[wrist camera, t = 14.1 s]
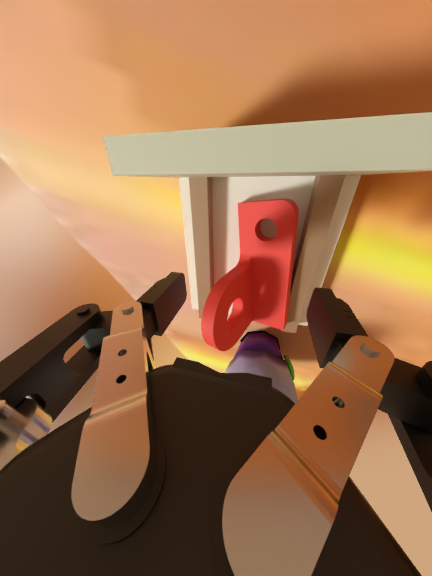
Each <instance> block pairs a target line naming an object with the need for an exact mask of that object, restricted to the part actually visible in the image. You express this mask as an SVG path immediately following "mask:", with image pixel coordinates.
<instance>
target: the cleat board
mask: <svg viewBox="0 0 432 576" xmlns="http://www.w3.org/2000/svg"><path fill="white" fill-rule="evenodd" d="M103 140H104V143H105V147H106V151H107V155H108V159H109V162H110V166H111V170H112V174H113V176H143V177H173V178H179V183H180V193H181V203H182V213H183V223H184V233H185V243H186V253H187V263H188V273H189V284H190V294H191V304H192V309H196V310H199V318H202V314H203V309H204V305H205V302H206V300H207V297H208V295H209V293H210V291H211V289H212V288H213V286H214V285H215V283H216V282H217V281H218V280H219V279H220V278H221V277H223V276H224V275H225V274H227V273H228V272H229V271H230V270H232V269H233V268H234V267H235V266H236V265H237V264H238V261H239V258H240V241H239V221H238V203H240V202H244V201H256V200H270V199H284V198H287V199H291V200H293V201H294V202H295V203H296V204H297V206H298V209H299V216H298V225H297V235H296V244H295V253H294V262H293V271H292V280H291V289H290V298H289V307H288V317H287V324H286V326H285V328H284V330H281V331H284V332H290V333H296V331H297V327H298V325H304V326H308V322H307V317H306V314H307V308H308V305H309V302H310V299H311V296H312V293H313V290H314V288H315V287H318V288H321V287H322V285H323V282H324V279H325V276H326V273H327V271H328V268H329V265H330V262H331V259H332V257H333V254H334V251H335V248H336V245H337V242H338V240H339V237H340V234H341V231H342V228H343V226H344V223H345V220H346V217H347V214H348V211H349V209H350V206H351V203H352V200H353V197H354V195H355V192H356V189H357V186H358V183H359V180H360V178H361V175H371V174H389V173H406V172H423V171H432V112H426V113H412V114H399V115H385V116H372V117H358V118H344V119H331V120H317V121H304V122H290V123H277V124H263V125H250V126H236V127H222V128H209V129H195V130H182V131H168V132H155V133H141V134H127V135H114V136H103ZM260 229H261V232H262V234H263V235H264V236H266V237H268V238H273V237H275V235H276V232H277V227H276V224H275V223H274V222H273V221H272V220H271V219H268V218H264V219H263V220H262V222H261V225H260ZM232 308H233V303H232V305H231V307H230V309H229V312H228V314H230V315H231V312H232Z"/></svg>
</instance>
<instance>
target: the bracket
mask: <svg viewBox="0 0 432 576" xmlns="http://www.w3.org/2000/svg"><path fill="white" fill-rule="evenodd" d="M298 216H299V209H298V206H297V204H296V203H295V202H294V201H293V200H291V199H287V198H284V199H270V200H256V201H244V202H240V203H238V221H239V241H240V258H239V261H238V264H237V265H236V266H235V267H234V268H233V269H232V270H230V271H229V272H228V273H227V274H225V275H224V276H223V277H221V278H220V279H219V280H218V281H217V282H216V283H215V285H214V286H213V288H212V289H211V291H210V293H209V295H208V297H207V300H206V302H205V305H204V309H203V314H202V322H201V329H202V335H203V338H204V340H205V342H206V343H207V344H208V345H210V346H212V347H214V348H216V349H218V350H220V351H227V350H229V349H230V348H232V347H233V346H234V345H235V344H236V342H237V341H238V340H239V338H240V337H241V336H242V334H243V333H244V331H245V330H246V329H247V327H248V326H249V324H250V323H251V322H252V321H255V322H259V323H262V324H265V325H268V326H271V327H274V328H277V329H280V330H284V328H285V326H286V324H287V317H288V307H289V298H290V289H291V280H292V271H293V262H294V253H295V244H296V235H297V225H298ZM264 218H268V219H271V220H272V221H273V222H274V223H275V224H276V227H277V232H276V235H275V237H273V238H268V237H266V236H264V235H263V234H262V232H261V229H260V225H261V222H262V220H263V219H264ZM232 303H233V308H232V312H231V315H230V317H229V319H228V321H227V316H228V312H229V309H230V307H231V305H232Z"/></svg>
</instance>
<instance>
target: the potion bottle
mask: <svg viewBox="0 0 432 576" xmlns="http://www.w3.org/2000/svg"><path fill="white" fill-rule="evenodd" d="M240 341H241V344H240V346H239V348H238V350H237V352H236V354H235V357H234V359H233V360H232V361H231V362H230V363H229V366H228V368H227V370H226V372H225V373H251V374H255V375H260V376H264V377H269V378H272V387H274V388H276V389H277V390H279V391H281V392H282V393H283V394H285V395H286V396H287V397H289V398H290V399H291V400H292V401H293V402H294V403H295V404H296V402H297V401H298V398H297V394H296V390H295V385H294V382H293V380H294V377H295V376H294V370H293V367H292V364H291V362H290V359H289V358H288V357H287V356H284V358H285V360H283V358H282V355H281V352H280V350H279V349H280V347H279V343H278V339H277V338H276V337H275V336H273V335H271V334H269V333H267V332H265V331H253V332H247V334H246V335H245V336H244V337H243V338H242V339H241V340H240Z"/></svg>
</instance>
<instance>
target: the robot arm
mask: <svg viewBox="0 0 432 576" xmlns="http://www.w3.org/2000/svg"><path fill="white" fill-rule="evenodd" d="M186 296H187V292H186V284H185V277H184V274H183V273H177V272H171V273H170V274H169V275H168V276H167V277H166V278H163V279H161V280H159V281H157V282H156V283H155V284H154V285H153V287H151V288H150V289H149V290H148V291H147V292H145V293H144V294H143V295H142V296H141V297H140V298H139V299H138V300H137V301H129V302H125V303H122V304H120V305H118V307H116V308H115V309H114V310H113V311H103V312H101V310H100V308H99V306H98V305H96V304H86V305H82V306H79V307H77V308H75V309H74V310H72V311H71V312H70V313H68V314H66V315H65V316H64V317H62V318H61V319H59V320H58V321H57V322H55V323H54V324H53V325H51V326H50V327H48V328H47V329H46V330H44V331H43V332H42V333H40V334H39V335H37V336H36V337H35V338H33V339H32V340H30V341H29V342H27V343H26V344H25V345H23V346H22V347H20V348H19V349H18V350H16V351H15V352H14V353H12V354H11V355H9V356H8V357H7V358H5V359H4V360H2V361H1V362H0V576H421V574H420V573H419V571H418V570H417V569H416V567H415V566H414V565H413V563H412V562H411V560H410V559H409V558H408V556H407V555H406V554H405V552H404V551H403V550H402V548H401V547H400V545H399V544H398V543H397V541H396V540H395V539H394V537H393V536H392V534H391V533H390V532H389V530H388V529H387V528H386V526H385V525H384V523H383V522H382V521H381V520H380V518H379V517H378V515H377V514H376V512H375V511H374V510H373V508H372V507H371V506H370V504H369V503H368V501H367V500H366V499H365V497H364V496H363V495H362V493H361V492H360V490H359V489H358V488H357V486H356V485H355V484H354V483H353V481H352V479H351V478H350V477H349V474H350V472H351V470H352V467H353V465H354V463H355V460H356V458H357V456H358V453H359V451H360V449H361V446H362V444H363V442H364V439H365V437H366V435H367V433H368V430H369V428H370V425H371V423H372V421H373V419H374V416H375V414H376V412H377V409H379V410H381V411H383V412H385V413H388V415H389V418H390V420H391V422H392V424H393V426H394V429H395V431H396V433H397V435H398V437H399V440H400V442H401V444H402V446H403V448H404V451H405V453H406V455H407V458H408V460H409V462H410V464H411V466H412V469H413V471H414V473H415V475H416V478H417V480H418V482H419V484H420V486H421V489H422V491H423V493H424V495H425V498H426V500H427V502H428V504H429V507H430V509H431V511H432V361H429V362H427V363H426V364H425V365H424V366H423V367H422V368H421V367H418V366H415V365H413V364H410V363H407V362H404V361H401V360H399V359H396V358H394V355H393V353H392V352H391V351H390V349H389V348H387V347H386V346H385V345H384V344H382V343H381V342H379V341H377V340H375V339H373V338H370V337H368V335H367V334H366V332H365V330H364V329H363V327H362V326H361V324H360V322H359V321H358V319H356V316H355V315H354V313H352V312H353V311H352V310H351V308H350V307H349V305H348V304H347V303H345V302H344V301H343V300H341V299H338V298H336V297H335V295H334V293H333V291H332V290H331V289H327V288H318V287H315V288H314V290H313V293H312V296H311V299H310V302H309V305H308V308H307V314H306V317H307V322H308V326H309V330H310V333H311V337H312V341H313V344H314V348H315V352H316V355H317V359H318V363H319V366H320V368H324V369H323V370H322V371H321V372H320V374H319V375H318V376H317V377H316V379H315V380H314V381H313V382H312V384H311V385H310V386H309V387H308V389H307V390H306V391H305V392H304V394H303V395H302V396H301V398H300V399H299V400H298V401H297V402H296V404H295V403H294V402H293V401H292V400H291V399H290V398H289V397H287V396H286V395H285V394H283V393H282V392H281V391H279V390H277V389H276V388H274V387H272V378H269V377H264V376H260V375H255V374H251V373H219V372H217V371H215V370H213V369H211V368H209V367H207V366H205V365H203V364H201V363H199V362H196V361H191V360H186V359H182V358H176V360H175V362H174V364H173V365H165V366H161V367H158V368H156V364H155V357H154V350H153V343H152V339H151V338H152V336H153V335H158V336H162V334H163V333H164V332H165V330H166V329H167V327H168V326H169V324H170V323H171V321H172V320H173V318H174V317H175V315H176V314H177V312H178V311H179V310H180V308H181V307H182V305H183V304H184V302H185V300H186ZM79 339H81V340H82V342H83V344H84V346H83V347H82V348H81V349H80V350H79V351H78V352H77V353H76V354H75V355H74V356H73V357H72V358H71V359H70V360H69V361H68V362H67V363H66V364H65V362H64V360H63V357H64V354H65V352H66V351H67V350H68V349H69V348H70V347H71V346H72V345H73V344H74V343H75V342H76V341H77V340H79ZM97 368H98V374H97V379H96V386H95V392H94V398H93V404H92V407H91V408H89V409H88V410H86V411H84V412H83V413H81V414H79V415H78V416H76V417H75V418H73V419H71V420H70V421H68V422H66V423H65V424H63V425H62V426H60V427H58V428H57V429H55V430H53V431H52V432H50V433H49V434H47V433H48V432H49V430H50V428H51V425H52V422H53V421H54V420H55V419H56V418H57V416H58V415H59V414H60V413H61V412H62V410H63V409H64V408H65V407H66V405H67V404H68V403H69V402H70V401H71V400H72V398H73V397H74V396H75V395H76V394H77V392H78V391H79V390H80V389H81V388H82V386H83V385H84V384H85V383H86V381H87V380H88V379H89V378H90V377H91V376H92V374H93V373H94V372H95V371H96V369H97Z"/></svg>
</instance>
